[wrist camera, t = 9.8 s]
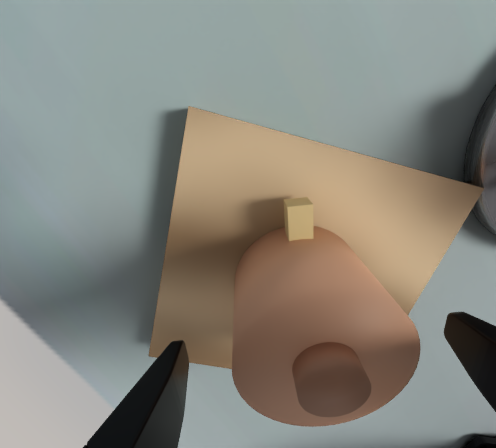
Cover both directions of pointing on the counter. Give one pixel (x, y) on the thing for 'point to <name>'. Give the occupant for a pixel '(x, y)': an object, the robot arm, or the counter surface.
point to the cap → (316, 328)
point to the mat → (272, 217)
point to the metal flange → (484, 163)
